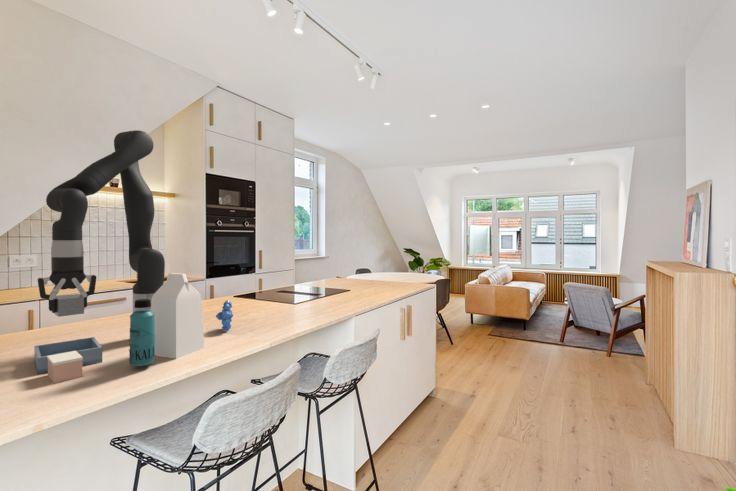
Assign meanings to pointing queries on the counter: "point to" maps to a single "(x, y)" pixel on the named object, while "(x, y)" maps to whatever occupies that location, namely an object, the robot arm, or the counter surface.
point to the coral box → (64, 366)
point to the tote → (84, 347)
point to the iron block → (69, 305)
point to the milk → (177, 318)
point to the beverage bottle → (142, 334)
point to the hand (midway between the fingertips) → (68, 310)
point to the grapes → (225, 315)
